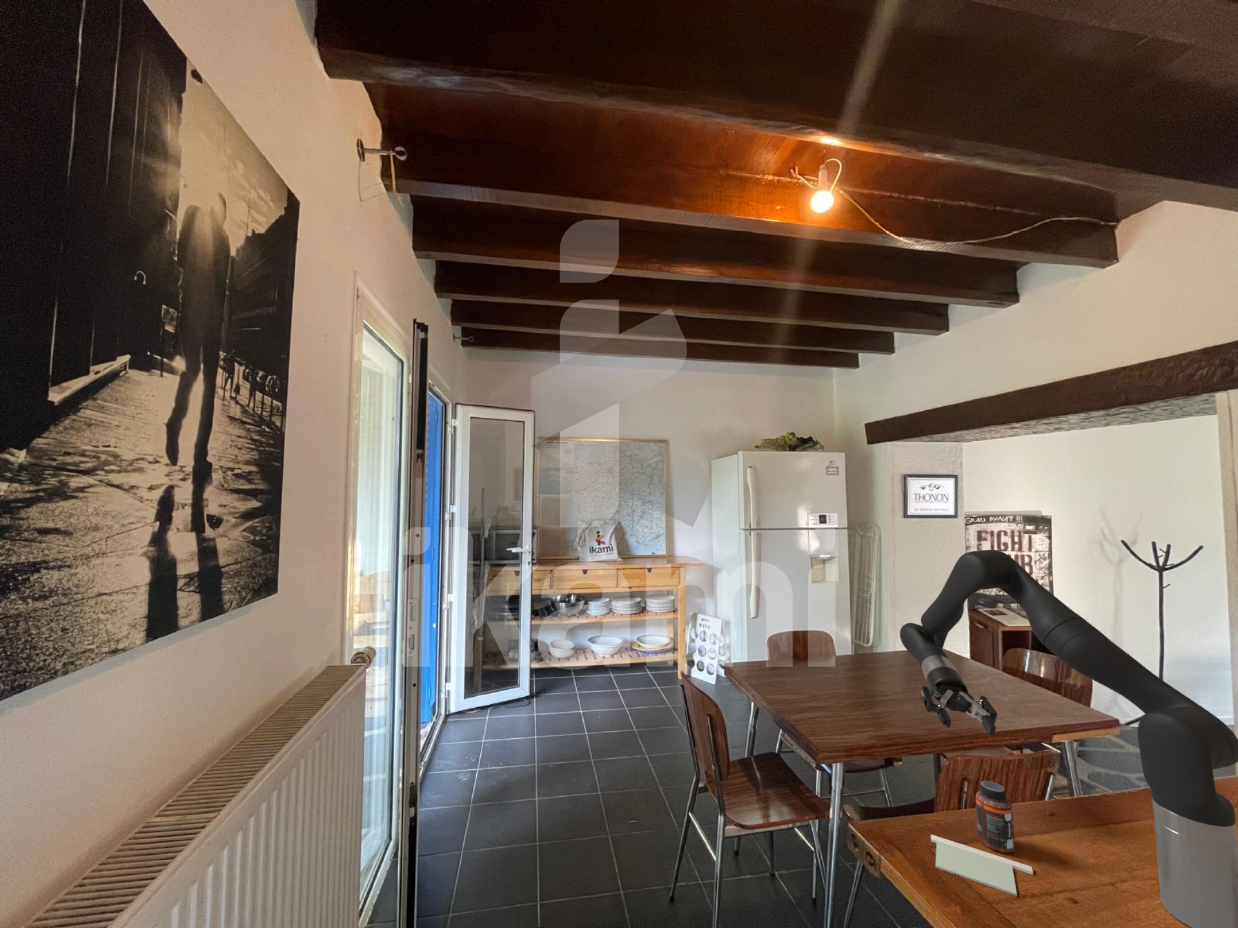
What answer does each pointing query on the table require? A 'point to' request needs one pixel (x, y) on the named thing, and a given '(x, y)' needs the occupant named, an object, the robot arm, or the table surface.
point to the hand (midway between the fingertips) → (970, 728)
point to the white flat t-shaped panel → (977, 865)
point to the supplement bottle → (995, 817)
